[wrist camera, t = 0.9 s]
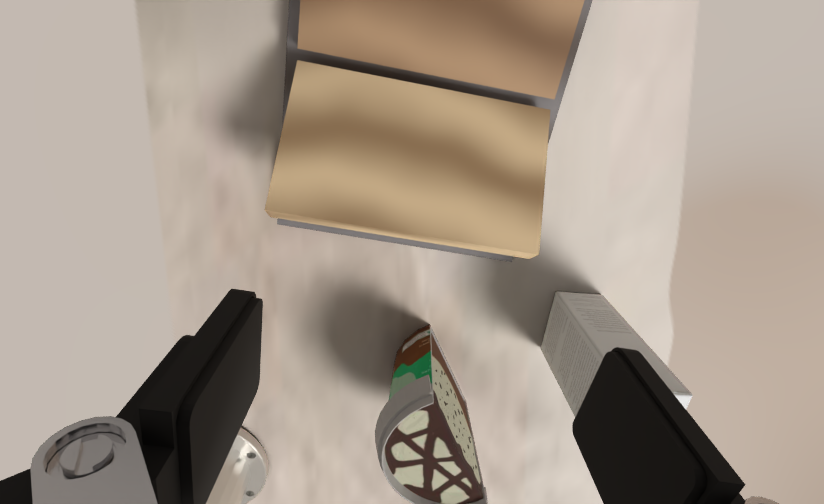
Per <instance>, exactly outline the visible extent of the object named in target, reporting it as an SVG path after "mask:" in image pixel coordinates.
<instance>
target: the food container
mask: <svg viewBox="0 0 824 504" xmlns="http://www.w3.org/2000/svg"><path fill="white" fill-rule="evenodd" d="M375 442H376V448H377V453H378V458H379V462H380V466H381V468H382V470H383V472H384V475H385V477H386V479H387V481H388V483H389V484H390V485H391V486H392V488H393V489H394V490H395V491H396V492H397V493H398V494H399V495H400V496H401V497H403V498H404V499H406V500H407V501H409V502H411V503H413V504H488V500H487V494H486V488H485V487H484V485H483V480H482V476H481V471H480V466H479V461H478V457H477V452H476V447H475V442H474V437H473V433H472V428H471V423H470V418H469V414H468V409H467V404H466V400H465V398H464V396H463V394H462V392H461V390H460V387H459V385H458V383H457V381H456V379H455V377H454V375H453V373H452V370H451V368H450V366H449V364H448V362H447V360H446V358H445V356H444V353H443V351H442V349H441V347H440V345H439V343H438V341H437V339H436V336H435V334H434V332H433V330H432V328H431V326H430V325H428V326H425V327H423V328H421V329H418V330H417V331H416V332H414V333H413V334H412V335H411V336H409V337H408V338H407V339H406V340H405V341H404V342H403V344H402V345H401V347H400V348H399V350H398V351H397V354H396V359H395V364H394V369H393V376H392V382H391V389H390V396H389V401H388V402H387V403H386V405H385V406H384V408H383V410H382V411H381V413H380V415H379V418H378V420H377V424H376V430H375Z"/></svg>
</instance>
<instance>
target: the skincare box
mask: <svg viewBox="0 0 824 504" xmlns="http://www.w3.org/2000/svg"><path fill="white" fill-rule="evenodd" d="M616 347H619V348H626V349H633V350H637V351H639V352H640V353H641V354H642V355H643V356H644V357H645V359H646V360H647V361H648V362H649V364H650V365H651V366H652V368H653V369H654V370H655V371H656V373H657V374H658V375H659V376H660V378H661V379H662V380H663V381H664V383H665V384H666V385H667V386H668V388H669V389H670V390H671V391H672V393H673V394H674V395H675V397H676V398H677V399H678V400H679V402H680V403H681V404H682V405H683V407H684V408H685V409H686V408H687V406H688V404H689V402H690V400H691V398H692V394H691V392H690V391H689V390H688V389H687V388H686V387H685V386H684V385H683V384H682V382H680V380H679V379H678V378H677V377H676V376H675V375H674V374H673V373H672V371H670V369H669V368H668V367H667V366H666V365H665V364H664V363H663V361H662V360H661V359H660V358H659V357H658V356H657V355H656V354H655V353H654V352H653V350H652V349H651V348H650V347H649V346H648V345H647V344H646V343H645V342H644V341H643V339H642V338H641V337H640V336H639V335H638V334H637V333H636V332H635V330H634V329H633V328H632V327H631V326H630V325H629V324H628V323H627V322H626V321H625V319H624V318H623V317H622V316H621V315H620V314H619V313H618V312H617V311H616V309H615V308H614V307H613V306H612V305H611V304H610V303H609V302H608V301H607V300H606V298H605V297H604V296H603V295H600V294H586V293H572V292H560V291H557V292H555V296H554V300H553V304H552V308H551V312H550V315H549V319H548V323H547V327H546V331H545V334H544V338H543V342H542V345H541V350H542V352H543V354H544V356H545V358H546V360H547V362H548V364H549V366H550V368H551V370H552V372H553V374H554V376H555V378H556V380H557V382H558V384H559V386H560V388H561V390H562V392H563V394H564V396H565V398H566V400H567V402H568V404H569V406H570V408H571V410H572V412H573V414H574V416H575V417H576V415H577V413H578V411H579V409H580V407H581V404H582V402H583V400H584V398H585V396H586V394H587V392H588V390H589V387H590V385H591V383H592V381H593V379H594V377H595V375H596V373H597V371H598V368H599V366H600V364H601V362H602V360H603V358H604V356H605V354H606V353H607V352H610V351H612V349H614V348H616Z"/></svg>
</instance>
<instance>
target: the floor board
mask: <svg viewBox="0 0 824 504" xmlns="http://www.w3.org/2000/svg"><path fill="white" fill-rule="evenodd" d="M591 3H592V0H289V16H288V34H287V53H286V71H285V90H284V109H283V124H284V119H285V114H286V110H287V105H288V101H289V96H290V91H291V87H292V82H293V78H294V73H295V68H296V64H297V60H299V61H304V62H309V63H315V64H320V65H325V66H330V67H335V68H340V69H345V70H350V71H355V72H360V73H365V74H371V75H376V76H381V77H386V78H391V79H396V80H401V81H406V82H411V83H416V84H422V85H427V86H432V87H437V88H442V89H447V90H452V91H457V92H462V93H467V94H473V95H478V96H483V97H488V98H493V99H498V100H503V101H508V102H513V103H518V104H523V105H529V106H534V107H539V108H544V109H549V110H550V122H549V135H548V143H549V139H550V136H551V133H552V130H553V126H554V123H555V120H556V117H557V113H558V110H559V107H560V104H561V100H562V97H563V94H564V91H565V88H566V84H567V81H568V78H569V75H570V71H571V68H572V65H573V62H574V58H575V55H576V52H577V49H578V45H579V42H580V39H581V36H582V33H583V29H584V26H585V23H586V20H587V16H588V13H589V10H590V7H591ZM282 128H283V127H282ZM277 224H279V225H285V226H291V227H298V228H304V229H310V230H316V231H322V232H329V233H335V234H341V235H347V236H354V237H360V238H366V239H372V240H378V241H385V242H391V243H397V244H403V245H410V246H416V247H422V248H428V249H435V250H441V251H447V252H453V253H459V254H466V255H472V256H478V257H484V258H491V259H497V260H503V261H509V262H512V259H513V256H508V255H502V254H496V253H489V252H483V251H477V250H471V249H465V248H459V247H452V246H446V245H440V244H434V243H428V242H422V241H415V240H409V239H403V238H397V237H391V236H385V235H378V234H372V233H366V232H360V231H354V230H347V229H341V228H335V227H329V226H323V225H317V224H310V223H304V222H298V221H292V220H286V219H280V218H278V220H277Z"/></svg>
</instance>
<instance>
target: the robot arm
mask: <svg viewBox="0 0 824 504" xmlns="http://www.w3.org/2000/svg"><path fill="white" fill-rule="evenodd" d="M262 308H263V301H262V299H259V298H256V294H255V292H251V291H244V290H238V289H231V290H230V291H229V292H228V293H227V295H226V296H225V297H224V298H223V300H222V301H221V302H220V304H219V305H218V306H217V307H216V309H215V310H214V311H213V313H212V314H211V315H210V316H209V318H208V319H207V320H206V322H205V323H204V324H203V326H202V327H201V328H200V329H199V331H198V332H197V333H196V335H195V336H190V335H185V336H183V337H182V338H181V339H180V340H179V341H178V342H177V343H176V344H175V345H174V347H173V348H172V349H171V350H170V352H169V353H168V354H167V355H166V356H165V358H164V359H163V360H162V361H161V363H160V364H159V365H158V366H157V367H156V369H155V370H154V371H153V372H152V374H151V375H150V376H149V377H148V379H147V380H146V381H145V382H144V383H143V385H142V386H141V387H140V388H139V389H138V391H137V392H136V393H135V394H134V396H133V397H132V398H131V399H130V401H129V402H128V403H127V404H126V406H125V407H124V408H123V409H122V410H121V412H120V413H119V414H118V415H117V416H116V417H111V416H110V417H94V418H91V419H86V420H82V421H79V422H77V423H74V424H72V425H69V426H67V427H65V428H63V429H62V430H60V431H59V432H57V433H55V434H54V435H52V436H51V437H50V438H49V439H48V440H47V441H46V442H45V443H43V445H41V446H40V448H39V449H38V451H37V452H36V454H35V455H34V457H33V459H32V464H31V469H28V470H26V471H23V472H21V473H18V474H16V475H14V476H11V477H9V478H6V479H4V480H1V481H0V504H246V503H248V502H250V501H251V500H252V499H254V498H255V497H256V496H257V495H258V494H259V493H260V492H261V490H262V488H263V486H264V485H265V482H266V479H267V476H268V471H269V463H268V458H267V455H266V453H265V451H264V449H263V447H262V446H261V445H260V443H259V442H258V441H257V440H256V439H255V438H254V437H253V436H252V435H251V434H250V433H249V432H247V431H246V430H244V429H243V428H241V426H242V423H243V421H244V419H245V417H246V415H247V412H248V410H249V408H250V406H251V404H252V401H253V399H254V397H255V395H256V392H257V389H258V386H259V380H260V357H261V332H262ZM573 435H574V437H575V440H576V442H577V444H578V446H579V449H580V451H581V453H582V456H583V458H584V460H585V462H586V465H587V467H588V469H589V471H590V474H591V476H592V478H593V481H594V483H595V485H596V487H597V490H598V492H599V494H600V496H601V499H602V501H603V503H604V504H779V503H777V502H775V501H773V500H770V499H766V498H763V497H750V498H748V499H746V500H744V499H743V498H742V496H741V495H740V494H739V492H740V491H741V490H742V488H743V487H744V486H745V484H744V482H743V481H742V480H741V479H740V477H739V476H738V475H737V474H736V472H735V471H734V470H733V469H732V467H731V466H730V465H729V463H728V462H727V461H726V460H725V458H724V457H723V456H722V455H721V453H720V452H719V451H718V450H717V448H716V447H715V446H714V444H713V443H712V442H711V441H710V439H708V437H707V436H706V434H705V433H704V432H703V431H702V429H701V428H700V427H699V426H698V424H697V423H696V422H695V421H694V419H693V418H692V417H691V416H690V414H689V413H688V412H687V410H686V409H685V408H684V407H683V405H682V404H681V403H680V402H679V400H678V399H677V398H676V397H675V395H674V394H673V393H672V391H671V390H670V389H669V388H668V386H667V385H666V384H665V383H664V381H663V380H662V379H661V378H660V376H659V375H658V374H657V373H656V371H655V370H654V369H653V368H652V366H651V365H650V364H649V362H648V361H647V360H646V359H645V357H644V356H643V355H642V354H641V353H640V352H639V351H637V350H633V349H626V348H619V347H616V348H614V349H612V351H610V352H607V353H606V354H605V356H604V358H603V360H602V362H601V364H600V366H599V368H598V371H597V373H596V375H595V377H594V379H593V381H592V383H591V385H590V387H589V390H588V392H587V394H586V396H585V398H584V400H583V402H582V404H581V407H580V409H579V411H578V413H577V415H576V417H575V419H574V422H573Z"/></svg>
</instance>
